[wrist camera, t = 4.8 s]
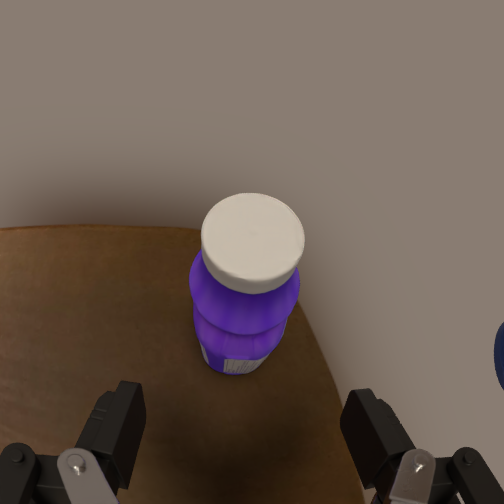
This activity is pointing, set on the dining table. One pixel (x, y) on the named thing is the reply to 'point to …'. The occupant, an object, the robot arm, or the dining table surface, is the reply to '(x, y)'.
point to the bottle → (245, 280)
